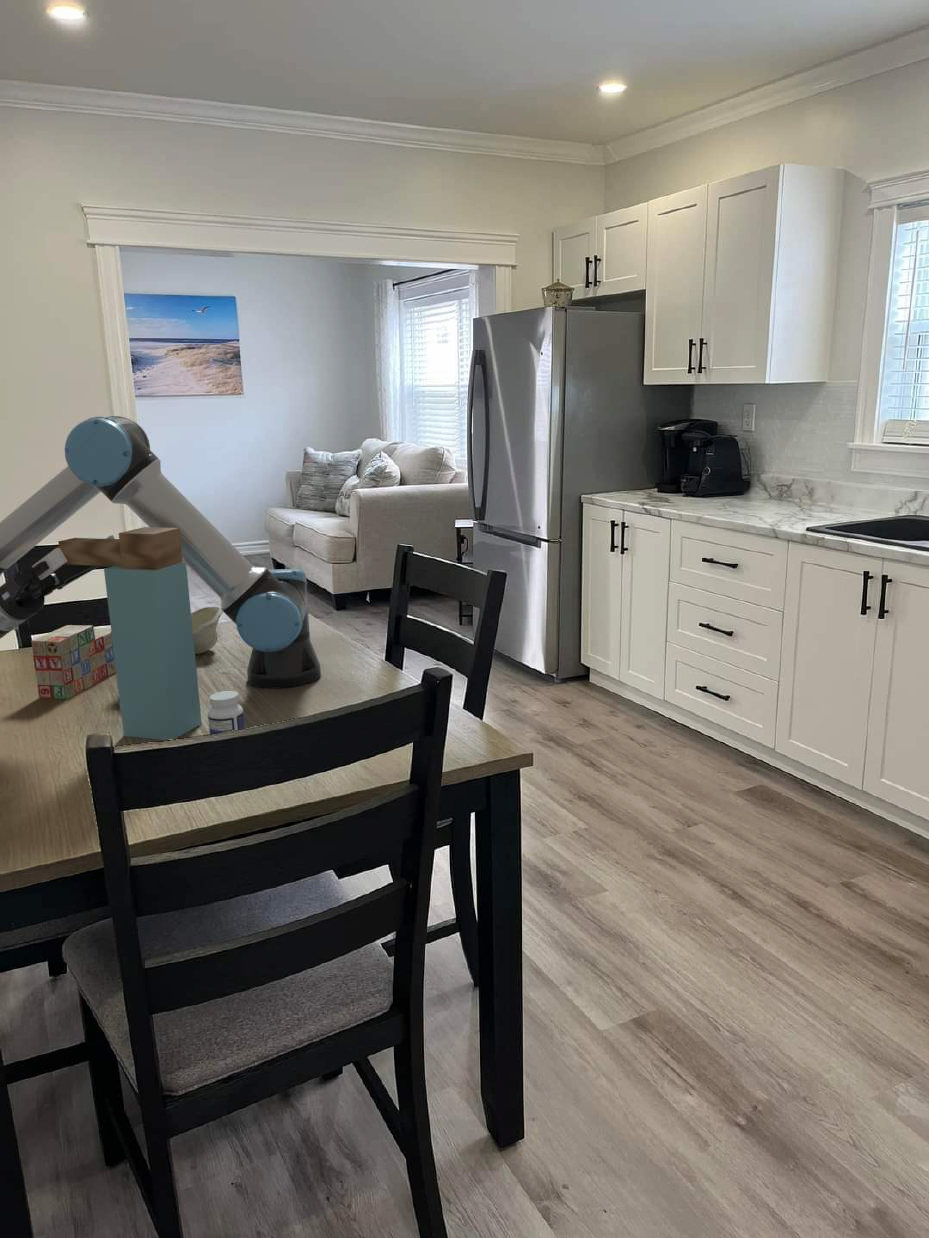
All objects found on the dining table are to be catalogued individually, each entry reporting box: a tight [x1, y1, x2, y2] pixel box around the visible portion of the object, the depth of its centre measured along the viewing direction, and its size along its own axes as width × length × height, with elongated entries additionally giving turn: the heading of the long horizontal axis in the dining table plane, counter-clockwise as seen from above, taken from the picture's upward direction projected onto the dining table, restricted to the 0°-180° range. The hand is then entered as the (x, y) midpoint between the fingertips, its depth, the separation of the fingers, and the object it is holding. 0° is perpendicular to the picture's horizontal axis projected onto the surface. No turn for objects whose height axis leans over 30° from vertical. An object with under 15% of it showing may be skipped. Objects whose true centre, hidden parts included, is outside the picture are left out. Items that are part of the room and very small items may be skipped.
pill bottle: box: [207, 690, 246, 735], centre depth 155 cm, size 6×6×10 cm
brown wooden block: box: [57, 526, 183, 570], centre depth 161 cm, size 21×7×6 cm, turn 72°
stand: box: [103, 560, 203, 741], centre depth 163 cm, size 10×9×30 cm
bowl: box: [191, 606, 224, 655], centre depth 215 cm, size 15×14×10 cm
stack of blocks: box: [30, 624, 116, 700], centre depth 194 cm, size 21×6×12 cm, turn 169°
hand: (89, 547), depth 162 cm, fingers open, 13 cm apart
